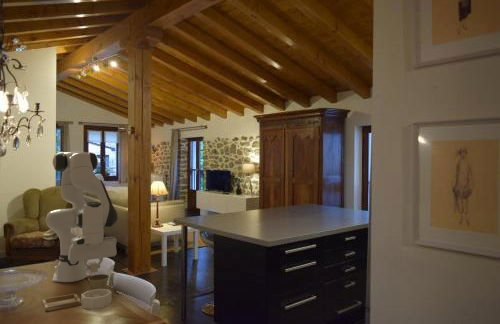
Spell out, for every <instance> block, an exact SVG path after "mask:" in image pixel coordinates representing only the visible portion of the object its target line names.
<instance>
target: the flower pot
mask: <svg viewBox="0 0 500 324" xmlns="http://www.w3.org/2000/svg"><path fill="white" fill-rule="evenodd" d="M109 277H110V275H108V274H105V273H104V274H103V273H101V274H94V275H90V276H88V277H87V279H88V282H89V284H90V290H94V289H107V285H108V281H109Z"/></svg>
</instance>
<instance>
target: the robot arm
mask: <svg viewBox="0 0 500 324" xmlns="http://www.w3.org/2000/svg"><path fill="white" fill-rule="evenodd" d="M98 163H99V160H98V155H96V153H94V152H91V151H88V152H86V151H66V152H63V151H60V152H57V153H55V154H54V157H53V159H52V165H53V169H54V170H55V171H56V172H60V173H61V183H60V184H61V185H60V187H61V188H60V189H61V190H60V197H61V199H62V200H63V201H65V202H67V203H69V204H71V205H72V207H70V208H59V209H58V208H57V209H54V210H50V211H49V212H48V213H47V214H46V217H45V224H46V226H47V227H48V228H49V229H50V230H51V231H53V232H54V233H55V234H56V235H57V237H58V239H59V244H60V245H59V246H60V253H59V262H58V264H57V265H56V266H54V267H53V268H54V269H53V270H54V273H53V277H52V280H51V281H52V282H56V283H57V282H59V283H73V282H78V281H80V280H84V279H85V278H89V277H90V276H91V275H90V274H91V273H90V272H89V273H88V272H87V271H89V269H90V265H89V264H87V263H88V261H90V260H97V259H98V260H99V261H98V262H97V264H98V269H100V268H101V265H102V263H103V261H104V259H105V258H112V257H113V258H114V257H115V256H116V255H117V252H118V251H117V244H118V243H117V242H118V240H117V237H116V236H112V235H111V236H104V234H105V233H104V232H105V230H104V228H112V227H113V226H114V225H115V224H116V223H117V222H118V213H117V210H116V208H115V206H114V205H113V203H112V200H111V198H110V195H109V193H108V190H107V188H106V186H105V183H104V182H103V180H102V179H99V178H98V176H96V174H95V172H94V171H95V170H96V169H97V168H98ZM84 191H85V192H89V193H92V194H94V195H96V196H97V198H98V200H99V202H98V201H88V202H87V201H86V200H85V196H84ZM78 228H79V229H82V234H80V235H79V234H76V233H74V232H72V229H78Z"/></svg>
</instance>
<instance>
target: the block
mask: <svg viewBox="0 0 500 324" xmlns="http://www.w3.org/2000/svg"><path fill="white" fill-rule="evenodd" d="M88 265H90V269H89V270H88V272H89V274H91V273H96V272H98V270H99V268H98V262H96V261H93V262H88Z"/></svg>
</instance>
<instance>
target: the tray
mask: <svg viewBox="0 0 500 324" xmlns="http://www.w3.org/2000/svg"><path fill="white" fill-rule="evenodd" d="M41 304H42V306H43V309H44V311H45V312H50V311H56V310H60V309H65V308H70V307H75V306H82V305H81V298H79V296H78V295H77V293H76V292H74V293H70V294H64V295H59V296H52V297H47V298H43V299H41Z"/></svg>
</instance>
